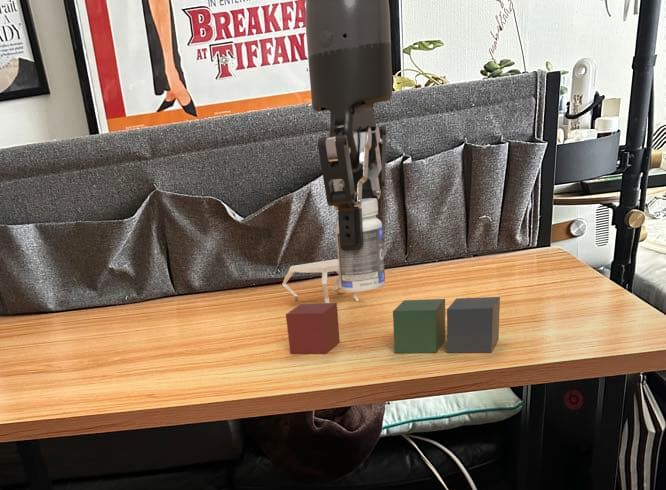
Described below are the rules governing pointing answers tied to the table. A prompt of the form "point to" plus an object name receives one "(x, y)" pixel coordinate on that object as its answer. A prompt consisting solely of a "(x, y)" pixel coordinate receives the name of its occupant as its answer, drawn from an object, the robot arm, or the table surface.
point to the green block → (419, 326)
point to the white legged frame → (317, 267)
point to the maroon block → (313, 328)
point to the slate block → (473, 325)
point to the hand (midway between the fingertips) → (360, 243)
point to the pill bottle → (364, 254)
